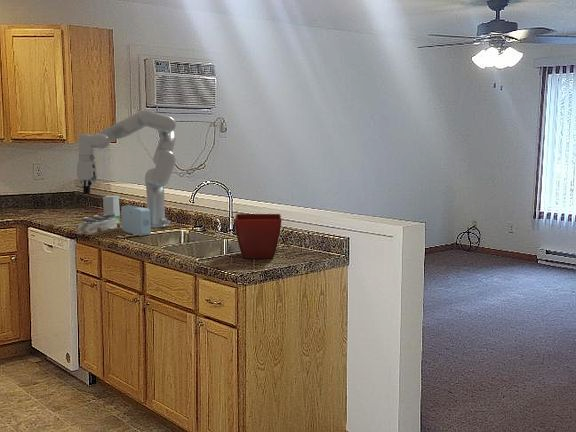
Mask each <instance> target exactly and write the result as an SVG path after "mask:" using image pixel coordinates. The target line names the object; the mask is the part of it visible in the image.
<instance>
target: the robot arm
mask: <svg viewBox="0 0 576 432" xmlns="http://www.w3.org/2000/svg"><path fill="white" fill-rule="evenodd" d="M176 126H177V122H176V120H175V119H174V118H173V117H172V116H169V115H166V114H163V113H158V112H156V111H152V110H148V109H147V110H145V109H144V110H139V111H137V112H136V113H134V114H132V115H130V116H128V117H126V118H124V119H122V120H121V121H119V122H116V123H115V124H113V125H111V126H108V127H106V128H104V129H103V130H100V131H98V132H96V133H94V134H88V133H87V134H84V133H82V134H79V135H78V137H77V142H78V145H77V147H78V148H77V149H78V153H77V154H78V161H77V164H76V165H77V166H76V179H77V182H78V183H80V184H81V185H82V187H83V191H82V193H83V194H84V195H90V194H91V186H92V184H94V183H96V180H97V179H98V170H97V164H96V161H95V157H96V156H94V155H95V153H94V149H106V148H108V147H109V145H110V143H111V142H114V141H116V140H119V139H122V138H126V137H129V136H131V135H133V134H135V133H136V132H138V131H140V130H142V129H144V128H145V127H149V128H151V129H155V130H157V132H158V135H159V140H158V143H157V147H156V149H155V151H154V155H153V157H152V161H153V163H154V165H155V167H153V168H150V169H148V170H147V171H146V173H145V175H144V182H145V183H144V184H145V191H146V208H147V209H149V210H150V220H151V229H152V228H153V229H154V228H166V227H168V226H169V225H170V224H171V221H172V220H169V219H168V217H166V209H165V207H166V206H165V204H166V203H165V202H166V201H165V186H167V184H169V181H170V179H171V177H172V173H173V170H174V167H175V164H176V156H175V153H173V151H174V148H175V145H176V144H175V143H176V133H175V129H176Z"/></svg>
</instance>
